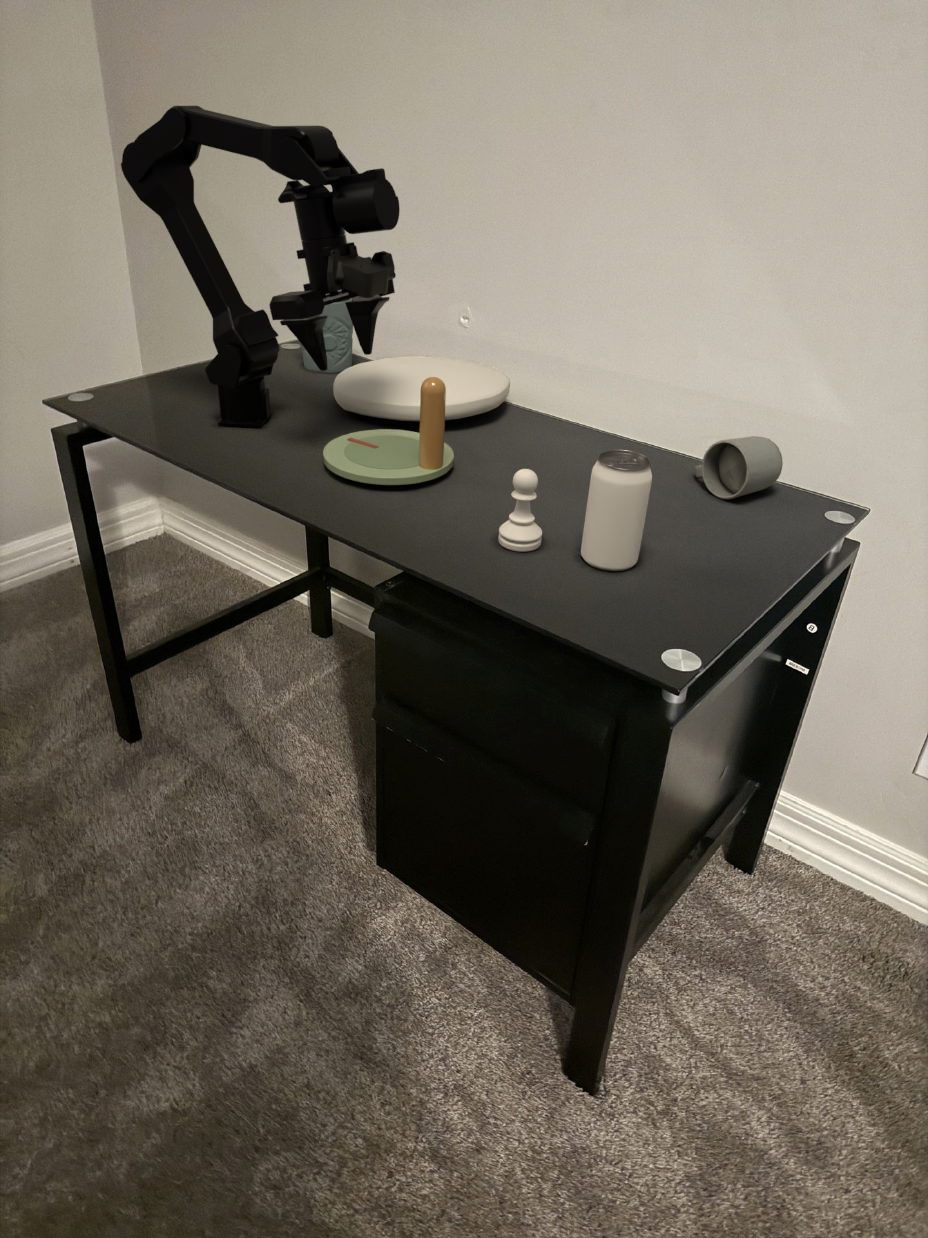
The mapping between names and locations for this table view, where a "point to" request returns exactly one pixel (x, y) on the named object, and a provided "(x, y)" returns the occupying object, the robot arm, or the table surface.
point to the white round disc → (419, 387)
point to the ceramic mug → (740, 466)
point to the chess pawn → (522, 516)
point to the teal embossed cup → (334, 339)
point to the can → (616, 510)
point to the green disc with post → (397, 447)
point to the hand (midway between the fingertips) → (346, 361)
